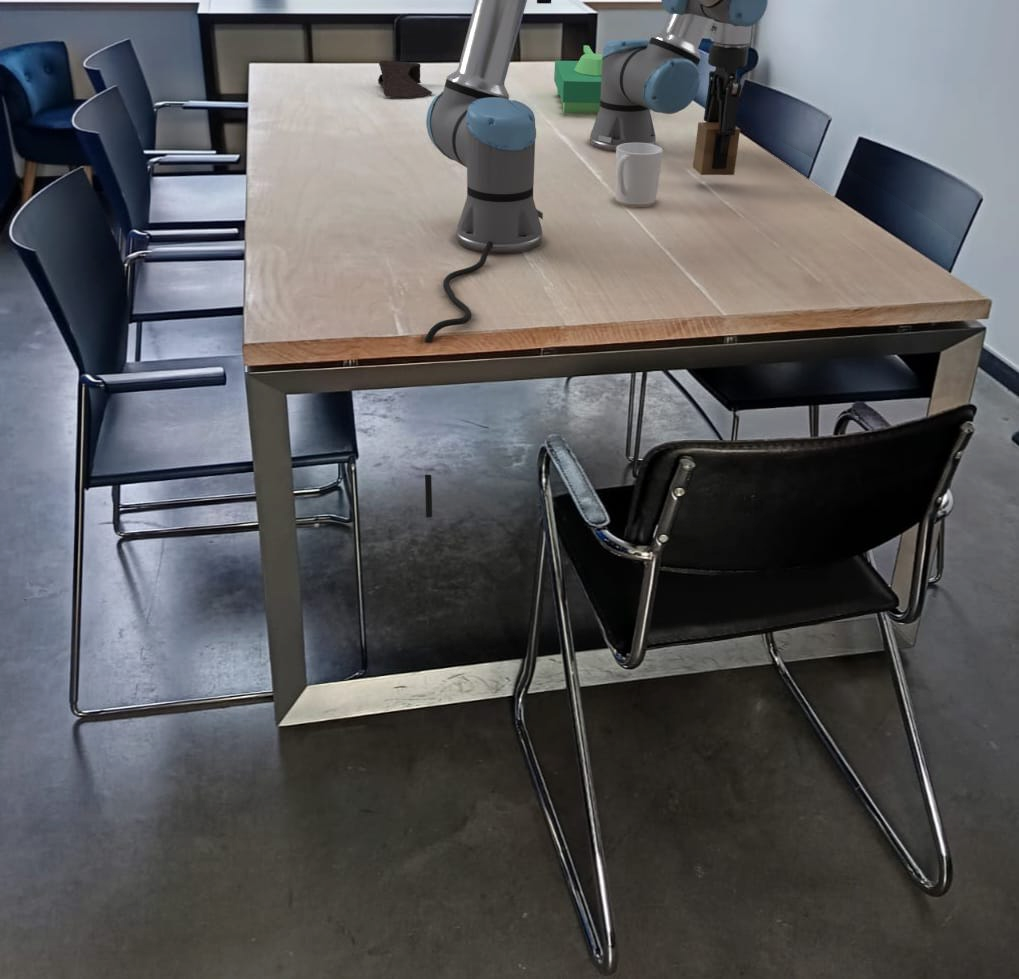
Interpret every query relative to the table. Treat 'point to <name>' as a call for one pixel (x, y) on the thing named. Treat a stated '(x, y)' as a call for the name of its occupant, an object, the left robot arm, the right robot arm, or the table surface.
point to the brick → (706, 150)
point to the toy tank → (580, 83)
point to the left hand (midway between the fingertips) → (714, 163)
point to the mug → (637, 174)
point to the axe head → (401, 79)
